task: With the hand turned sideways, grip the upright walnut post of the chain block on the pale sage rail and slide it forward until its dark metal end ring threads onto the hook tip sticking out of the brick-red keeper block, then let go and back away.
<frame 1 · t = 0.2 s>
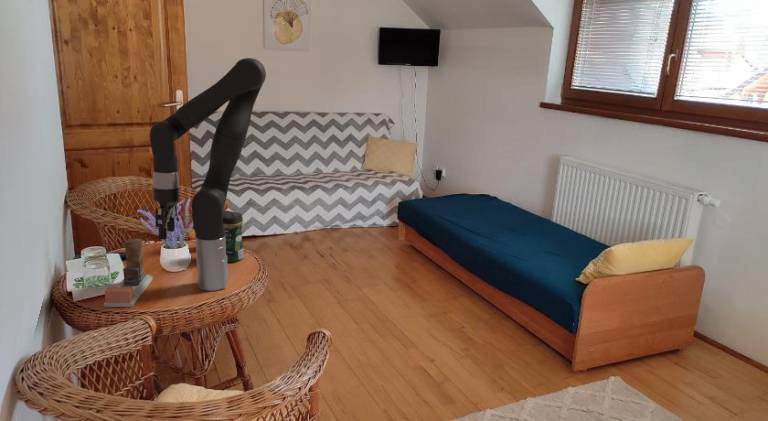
hand: (167, 235, 175), 18 cm above the table, tool pointing down, fingers open, 8 cm apart
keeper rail: (127, 294, 172), on the table
travel mug: (210, 249, 215), on the table
coffee jar: (230, 259, 206), on the table
chain block: (133, 261, 177), point 8 cm above the table, slide at 0.0 cm
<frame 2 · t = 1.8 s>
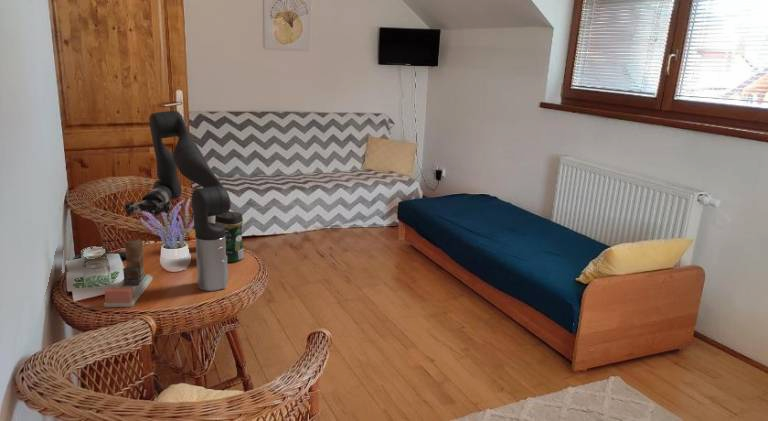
hand: (142, 212, 186), 21 cm above the table, tool horizontal, fingers open, 8 cm apart
nothing on the table moved.
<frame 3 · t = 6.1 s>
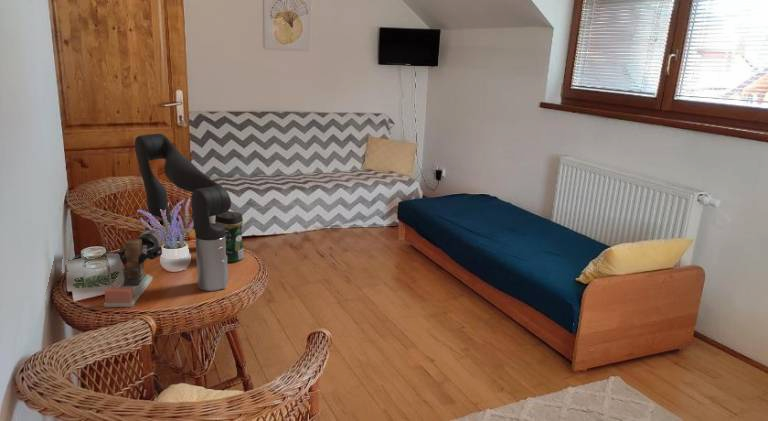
hand: (132, 260, 176), 9 cm above the table, tool horizontal, fingers closed on chain block, 4 cm apart
chain block: (133, 261, 177), point 8 cm above the table, slide at 0.0 cm, touching gripper
everything else where it was.
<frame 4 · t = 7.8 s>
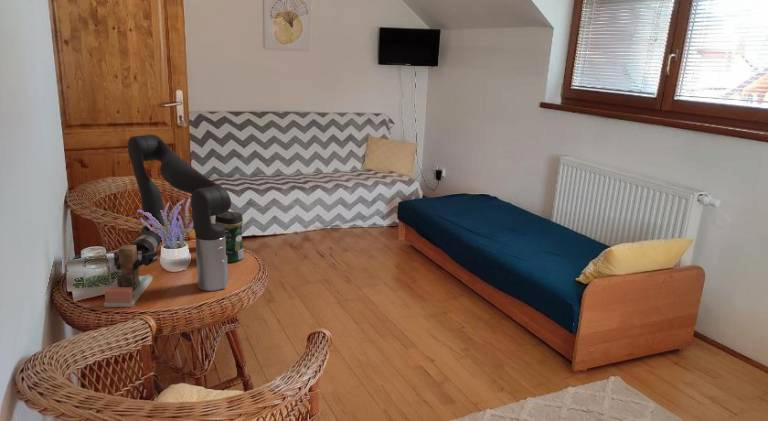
hand: (126, 267, 170), 9 cm above the table, tool horizontal, fingers closed on chain block, 4 cm apart
chain block: (128, 268, 172), point 8 cm above the table, slide at 5.7 cm, touching gripper
everything else where it was.
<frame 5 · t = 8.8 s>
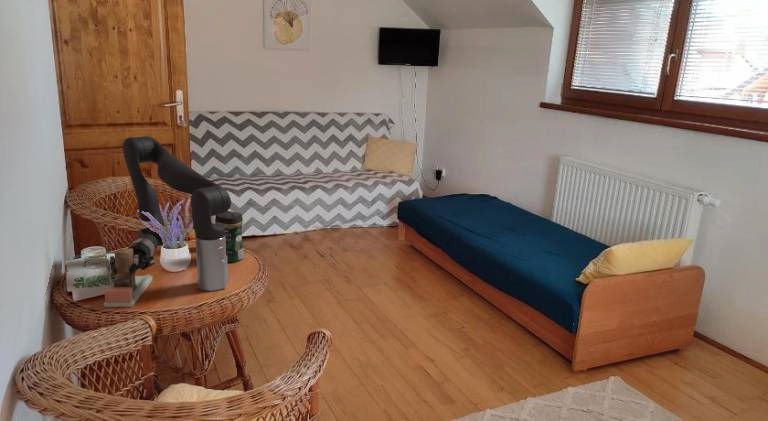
hand: (122, 271, 167), 9 cm above the table, tool horizontal, fingers closed on chain block, 4 cm apart
chain block: (124, 272, 169), point 8 cm above the table, slide at 9.2 cm, touching gripper
everything else where it was.
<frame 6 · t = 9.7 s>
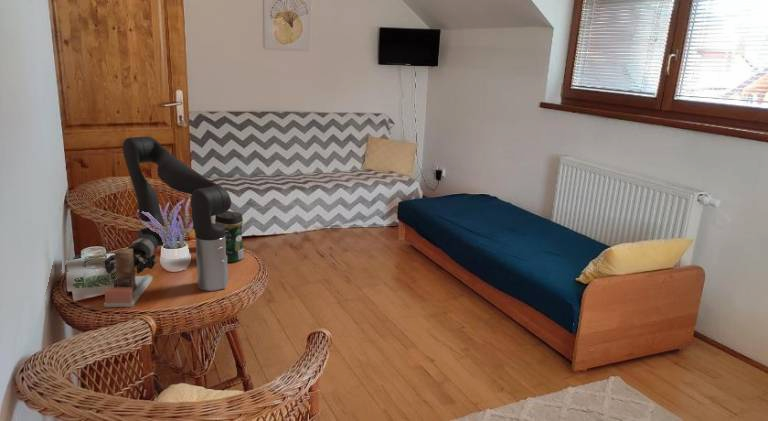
hand: (123, 270, 168), 9 cm above the table, tool horizontal, fingers open, 8 cm apart
chain block: (124, 272, 169), point 8 cm above the table, slide at 9.2 cm
everything else where it was.
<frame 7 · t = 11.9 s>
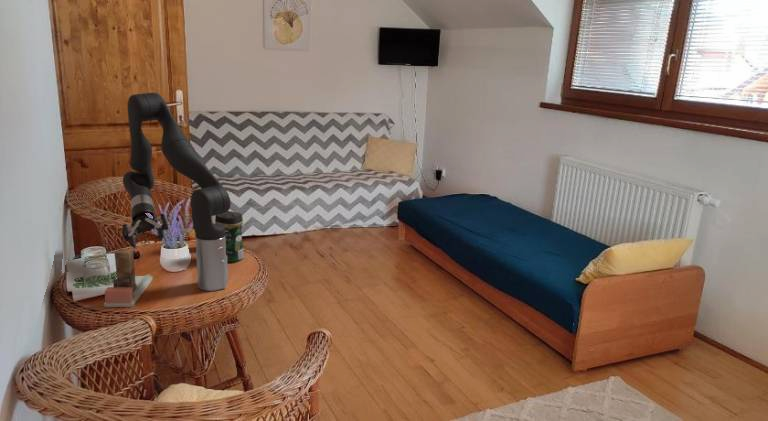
hand: (147, 242, 181), 13 cm above the table, tool tilted 65°, fingers open, 8 cm apart
nothing on the table moved.
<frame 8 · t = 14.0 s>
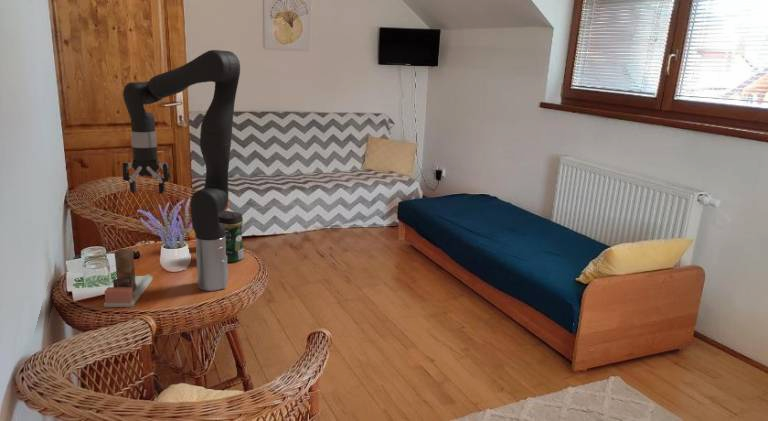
hand: (147, 193, 183), 28 cm above the table, tool pointing down, fingers open, 8 cm apart
nothing on the table moved.
at the end: chain block slide at 9.2 cm; the gripper is holding nothing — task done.
